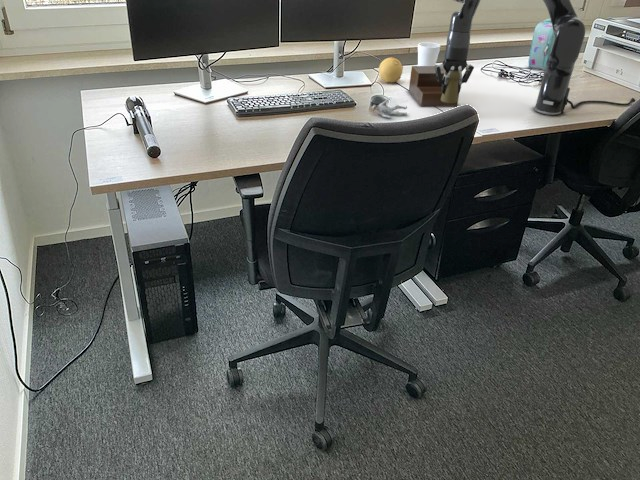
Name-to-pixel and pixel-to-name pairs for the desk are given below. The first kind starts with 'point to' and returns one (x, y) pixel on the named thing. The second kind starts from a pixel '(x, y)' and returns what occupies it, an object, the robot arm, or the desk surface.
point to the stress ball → (390, 69)
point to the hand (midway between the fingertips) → (450, 94)
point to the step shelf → (427, 86)
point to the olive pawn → (451, 88)
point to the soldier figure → (388, 109)
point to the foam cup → (428, 53)
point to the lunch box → (541, 44)
